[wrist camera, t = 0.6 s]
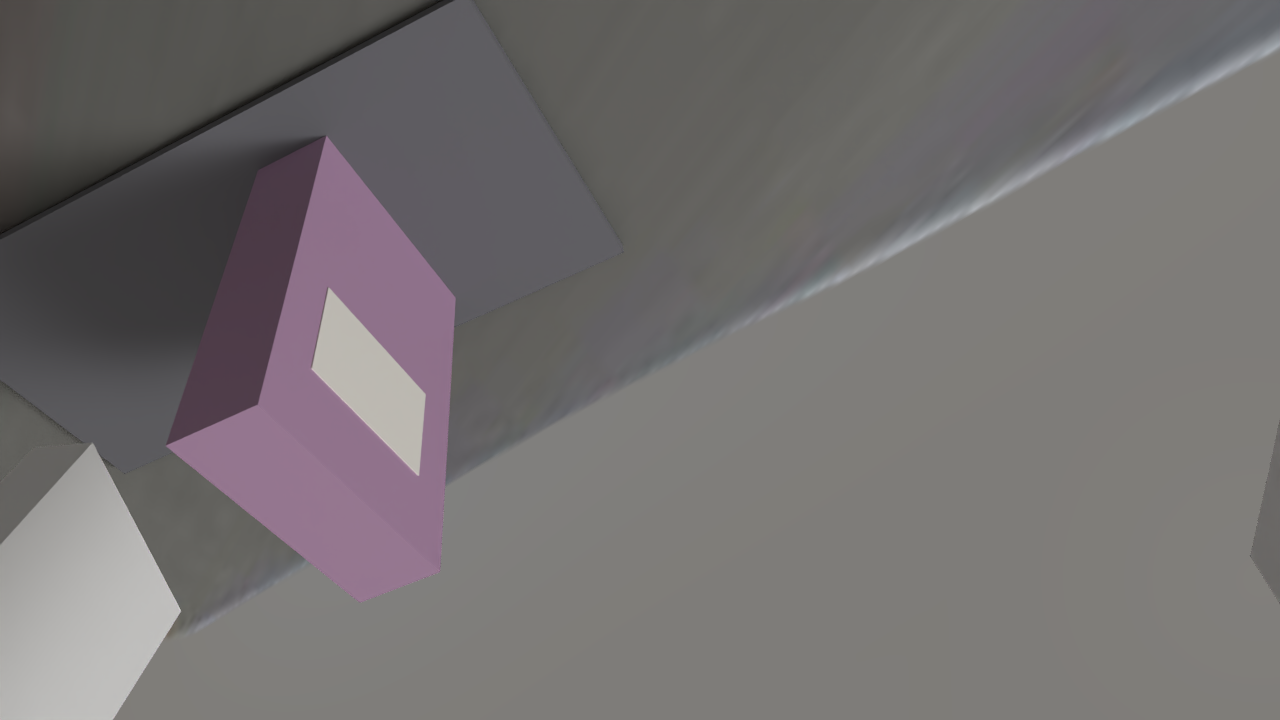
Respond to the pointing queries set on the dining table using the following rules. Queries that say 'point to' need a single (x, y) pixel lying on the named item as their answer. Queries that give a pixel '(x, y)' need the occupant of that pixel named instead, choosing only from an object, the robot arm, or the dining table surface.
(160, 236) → the mat
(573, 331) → the dining table surface
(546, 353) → the dining table surface
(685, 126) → the dining table surface
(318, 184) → the box
